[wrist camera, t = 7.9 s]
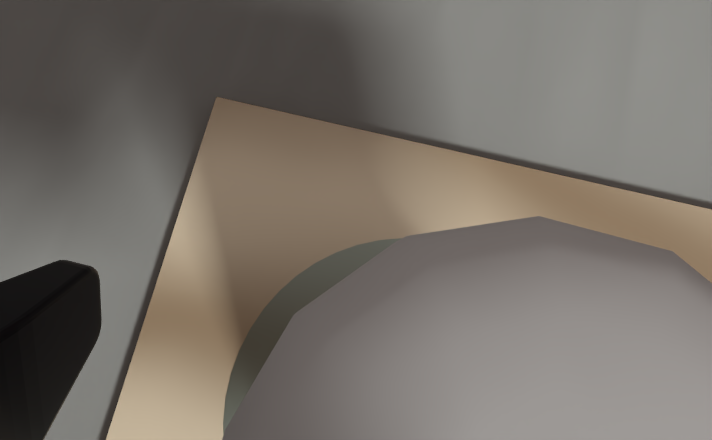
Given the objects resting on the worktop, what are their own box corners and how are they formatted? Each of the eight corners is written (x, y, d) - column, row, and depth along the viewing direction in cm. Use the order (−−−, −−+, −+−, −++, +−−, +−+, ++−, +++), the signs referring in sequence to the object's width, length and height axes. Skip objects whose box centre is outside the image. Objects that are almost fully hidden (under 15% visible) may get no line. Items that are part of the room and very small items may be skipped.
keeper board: (652, 828, 14) (660, 841, 14) (44, 649, 16) (35, 656, 15) (725, 218, 18) (733, 214, 17) (219, 102, 19) (216, 96, 18)
